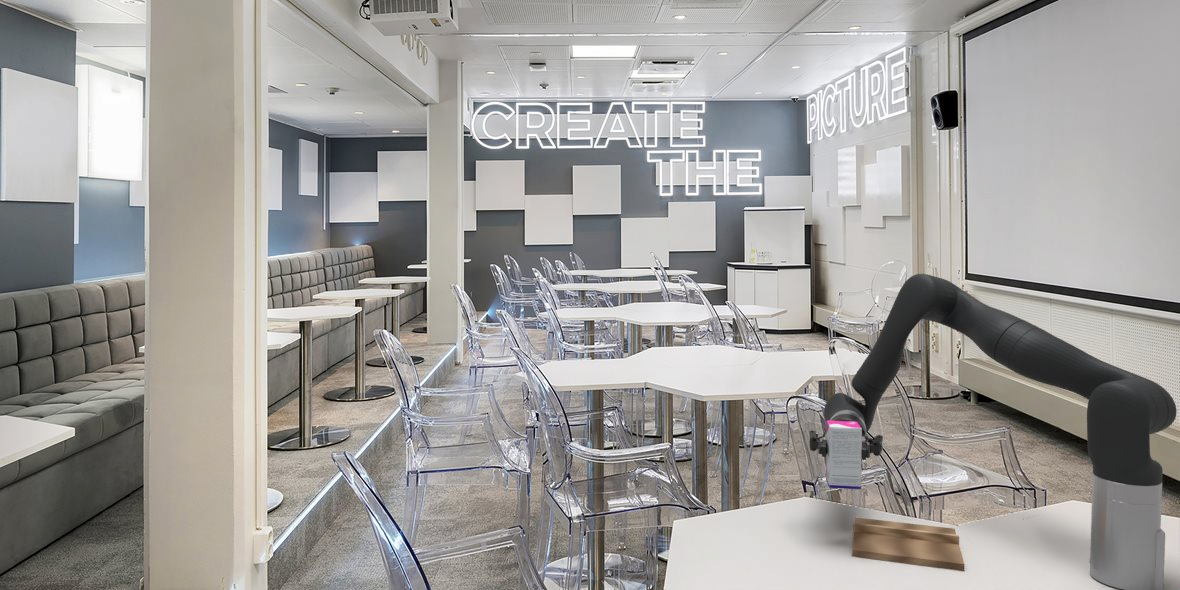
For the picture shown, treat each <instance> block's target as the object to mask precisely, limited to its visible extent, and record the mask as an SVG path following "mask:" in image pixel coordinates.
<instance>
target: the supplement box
mask: <svg viewBox="0 0 1180 590" xmlns="http://www.w3.org/2000/svg"><path fill="white" fill-rule="evenodd" d="M826 432H827V440H826V441H827V454H826V457H825V458H826V459H825V469H826V470H825V481H826V483H827V486H828V488H829V489H839V490H842V489H843V490H844V489H845V490H862V461H863V460H862V428H861V427H860V425H859V424H858V422H853V421H829V420H827V421H826Z"/></svg>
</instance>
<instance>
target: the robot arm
mask: <svg viewBox="0 0 1180 590" xmlns="http://www.w3.org/2000/svg"><path fill="white" fill-rule="evenodd" d="M921 320H926V321H928V322H929V321H930V322H933V323H938V324H940V325H942V326H946V327H948V328H950V329H952V330H955V331H956V332H958V333H961V334H962V335H964V336H966V337H968V338H969V339H970V340H971V341H972V342H973V343H974V344H975V346H977V347H978V349H980V350H981V351H982V352H983V353H984V354H985V355H986V356H987V357H989V358H990V359H992V360H993V361H994V362H996V363H998V364H999V365H1002V366H1003V367H1005V368H1007V369H1008V370H1010V371H1012V372H1013V373H1016V374H1018V375H1020V376H1021V377H1024V378H1027V379H1029V380H1032V381H1035V382H1039V383H1041V384H1044V385H1047V386H1052V387H1055V388H1059V389H1062V390H1065V391H1069V392H1071V393H1074V394H1075V395H1078V396H1080V397H1083V398H1085V399H1086V400H1088V403H1087V407H1086V435H1087V437H1086V438H1087V439H1086V440H1087V443H1086V445H1087V453H1088V456H1089V459H1090V460H1091V461H1090V462H1091V464H1092V483H1091V484H1092V487H1091V492H1092V493H1091V516H1090V517H1091V520H1090V522H1091V523H1090V545H1089V546H1090V548H1089V549H1090V550H1089V551H1090V553H1089V575H1090V576H1091V577H1092V578H1093V579H1094V580H1096V581H1098V582H1099V583H1102V584H1104V585H1107V586H1109V587H1113V588H1116V589H1120V590H1164V585H1165V584H1164V582H1165V581H1164V580H1165V579H1164V578H1165V561H1166V560H1165V557H1166V556H1165V555H1166V554H1165V553H1166V533H1165V531H1164V530H1163V529H1162V528H1161V526H1162V524H1161V523H1162V504H1163V503H1162V499H1163V496H1162V495H1163V475H1164V474H1163V473H1164V471H1163V467H1162V464H1160V462H1158V461H1157V460H1156V459H1155V460H1154V459H1153V458H1152V456H1151V448H1150V447H1151V446H1150V444H1151V443H1150V441H1151V440H1150V435H1152V434H1156V433H1160V432H1162V431H1163V430H1166V429H1167V428H1169V427H1170V426H1171V425H1173V423H1174V421H1176V418H1177V410H1178V409H1177V405H1176V403H1175V401H1174V398H1173V397H1172V396H1171V394H1170V392H1168V390H1166V389H1165V388H1164V387H1163V386H1162V385H1160V384H1158V382H1155V381H1153V380H1151V379H1149V378H1146V377H1144V376H1141V375H1140V374H1139V375H1138V374H1136V373H1134V372H1131V371H1128V370H1125V369H1123V368H1120V367H1118V366H1115V365H1112V364H1110V363H1107V362H1106V361H1103V360H1101V359H1100V358H1096V357H1095V356H1093V355H1091V354H1090V353H1087V352H1085V351H1084V350H1081V349H1080V348H1078V347H1076V346H1074V345H1072V344H1071V343H1069V342H1067V341H1065V340H1064V339H1062V338H1059V337H1057V336H1056V335H1053V334H1052V333H1050V332H1048V331H1046V330H1045V329H1043V328H1041V327H1039V326H1037V325H1035V324H1032V323H1031V322H1029V321H1027V320H1024V319H1022V318H1020V317H1018V316H1015V315H1013V314H1011V313H1009V312H1006V311H1005V310H1001V309H998V308H995V307H993V306H989V304H988V305H987V304H986V303H983V302H982V301H980V300H979V299H977V298H975V297H973V296H972V295H970V294H969V293H968V292H966V291H965V290H963V289H962V288H961V287H959V286H957V285H956V284H954V283H953V282H952V281H949V280H947V279H945V278H941V277H938V276H934V275H931V274H927V273H917V274H914V275H911V276H910V277H909V278H907V279H906V280H905V282H904V283H903V284H902V285H901V288H900V289H899V291H898V294H897V295H896V297H895V300H894V302H893V305H892V306H891V309H890V311H889V314H888V315H887V317H886V320H885V322H884V324H883V327H882V328H881V330H880V333H879V335H878V337H877V340H876V342H875V343H874V345H873V347H872V349H871V350H870V352H869V353H868V355H867V357H866V358H865V359H864V361H863V362H862V364H861V366H859V368H858V370H857V371H856V373H855V375H854V376H853V378H852V380H851V387H852V388H853V390H854V391H855V392H856V393H857V394H858V395H859V396H860V397H861V398H862V399H863V401H864V402H865V404H863V403H861V402H860V401H858V400H857V399H856V398H853V397H851V396H850V395H848V394H846V393H843V392H836V393H834V394H832V395H831V396H830V397H829V398H828V399H827V400H826V403H825V405H824V408H823V415H824V419H825V421H826V422H827V420H829V421H853V422H858V424H859V425H860V427H861V428H862V461H866V460H867V459H869V458H870V457H871V454H873V456H875V457H879V456H881V455H882V452H883V449H884V436H883V435H881V434H877V435H876V436H872V438H869V436H868V435H867V433H868V432H869V431H870V429H871V428H872V425H873V422H874V418H875V414H876V411H877V408H878V405H879V402H880V401H881V399H882V397H883V396H884V394H885V392H886V391H887V389H888V387H889V386H890V385H891V384H892V382H893V381H894V379H895V378H896V376H897V374H898V372H899V371H900V368H901V364H902V361H903V355H904V350H905V346H906V343H907V340H908V338H909V337H910V334H911V333H912V331H913V330H914V329H915V327H916V326H917V325H918V324H919V323H920V322H921ZM808 435H809V436H808V440H809V441H808V444H809V450H810V451H811V452H816V451H817V450H818V451H817V452H818V454H819V455H821V457H823V458H826V454H827V441H826V440H827V431H825V432H823V434H819V432H816V431H814V430H809V431H808Z"/></svg>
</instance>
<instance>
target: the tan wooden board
mask: <svg viewBox="0 0 1180 590" xmlns="http://www.w3.org/2000/svg"><path fill="white" fill-rule="evenodd" d="M852 539H853V540H852V551H851V553H852V554H851V557H856V558H862V559H871V560H878V561H879V560H880V561H884V562H885V561H886V562H894V563H899V564H900V563H902V564H907V565H917V566H924V567H930V568H939V569H947V570H954V571H962V572H965V561H964V558H963V553H962V551H961V546H960V534H957V533H956V528H952V527H942V526H934V525H925V524H917V523H909V522H901V521H900V522H899V521H891V520H890V521H889V520H882V519H874V518H864V517H854V523H853V538H852Z"/></svg>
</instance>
